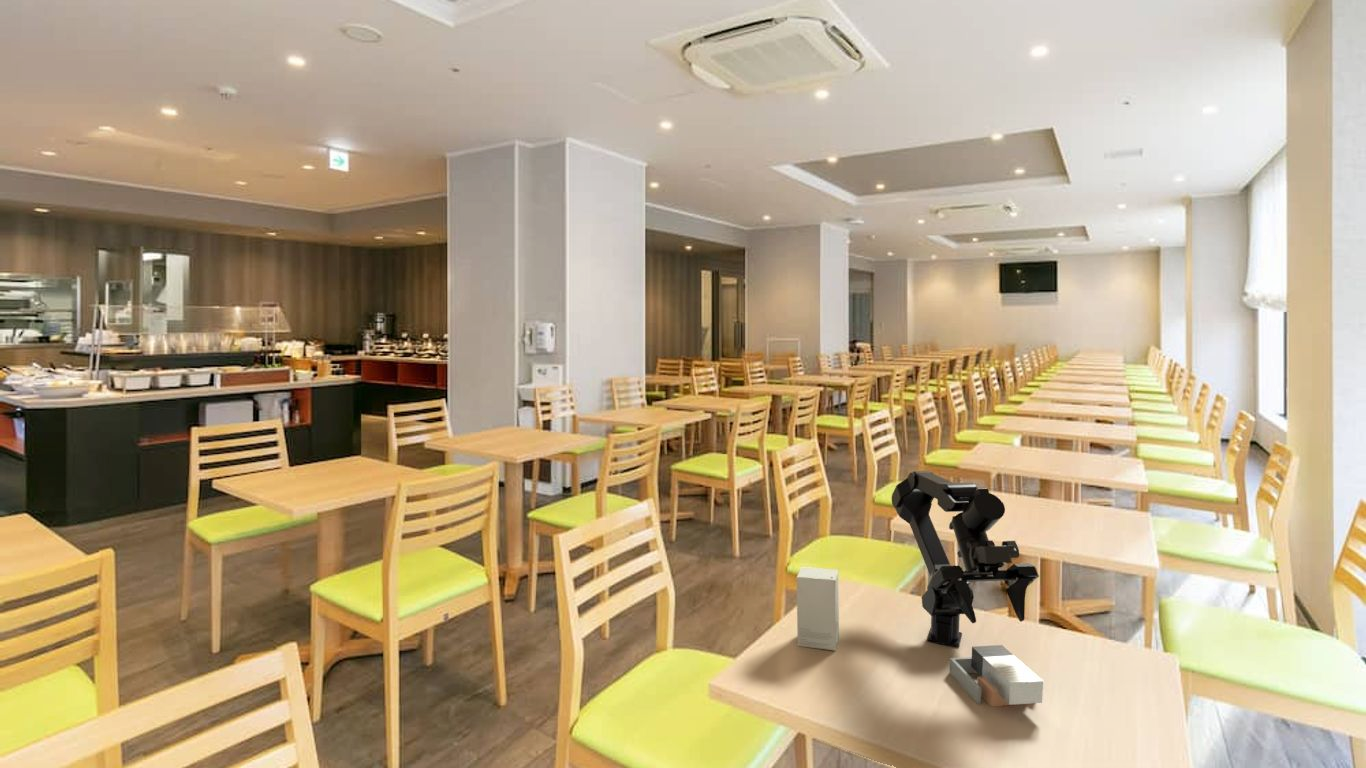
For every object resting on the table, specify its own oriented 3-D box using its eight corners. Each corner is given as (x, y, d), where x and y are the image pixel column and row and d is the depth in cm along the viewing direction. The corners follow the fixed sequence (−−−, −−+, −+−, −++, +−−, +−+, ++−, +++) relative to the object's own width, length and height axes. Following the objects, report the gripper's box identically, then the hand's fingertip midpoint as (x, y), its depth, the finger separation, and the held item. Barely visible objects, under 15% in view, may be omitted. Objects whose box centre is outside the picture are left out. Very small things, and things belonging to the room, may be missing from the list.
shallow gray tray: (949, 672, 137) (950, 658, 136) (1004, 669, 138) (1004, 655, 137) (977, 703, 126) (978, 688, 126) (1036, 700, 127) (1037, 684, 127)
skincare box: (839, 638, 151) (840, 569, 149) (835, 652, 145) (837, 580, 143) (800, 633, 154) (801, 564, 152) (795, 646, 148) (796, 575, 146)
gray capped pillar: (1009, 704, 121) (971, 666, 134) (1042, 702, 121) (1001, 664, 134) (1010, 682, 120) (972, 646, 133) (1043, 680, 121) (1002, 645, 134)
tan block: (977, 692, 130) (977, 676, 130) (1012, 689, 131) (1013, 674, 131) (991, 707, 125) (992, 691, 125) (1028, 704, 126) (1029, 688, 126)
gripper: (942, 525, 130) (966, 609, 121) (1037, 523, 132) (1068, 605, 123) (922, 549, 139) (943, 628, 130) (1011, 546, 141) (1038, 625, 132)
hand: (998, 621), depth 129 cm, fingers open, 9 cm apart
